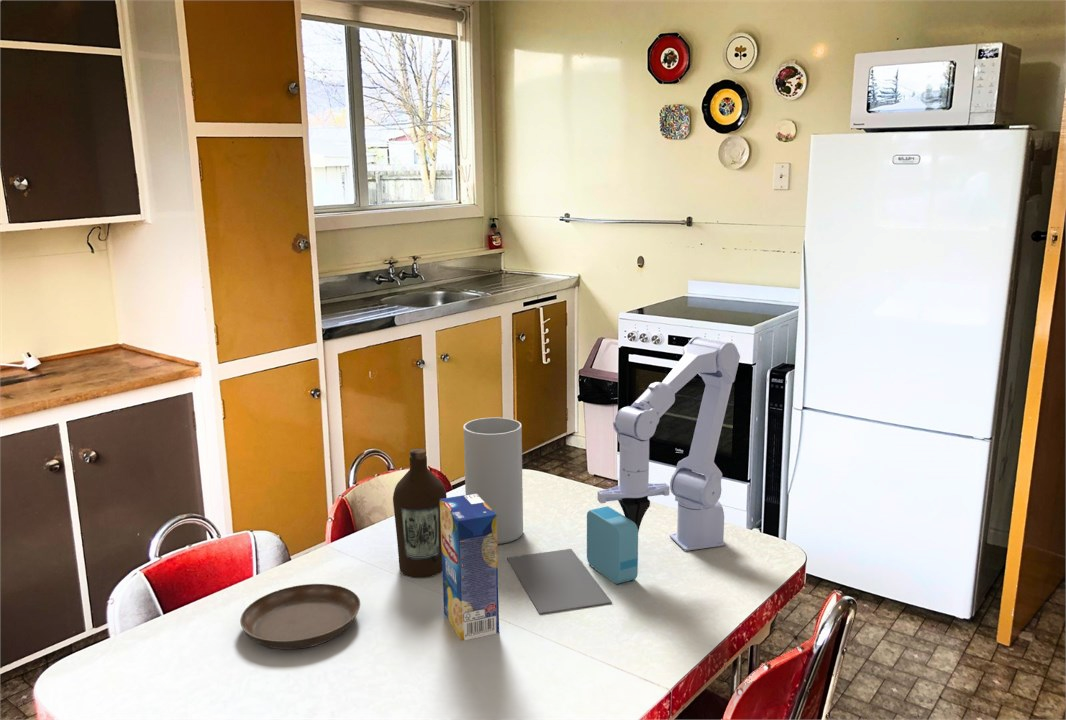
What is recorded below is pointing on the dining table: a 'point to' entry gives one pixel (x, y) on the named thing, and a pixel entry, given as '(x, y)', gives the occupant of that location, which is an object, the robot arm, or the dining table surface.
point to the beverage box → (469, 565)
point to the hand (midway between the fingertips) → (633, 532)
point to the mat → (557, 581)
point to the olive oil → (419, 518)
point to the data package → (612, 544)
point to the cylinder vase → (496, 471)
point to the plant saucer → (300, 615)
